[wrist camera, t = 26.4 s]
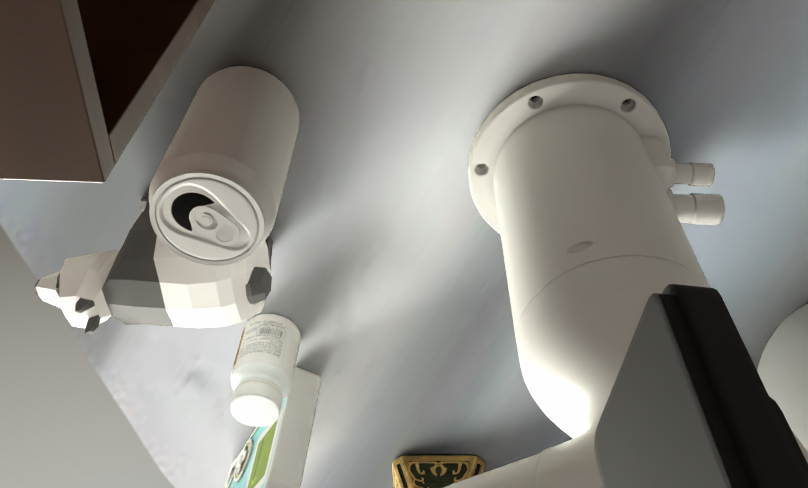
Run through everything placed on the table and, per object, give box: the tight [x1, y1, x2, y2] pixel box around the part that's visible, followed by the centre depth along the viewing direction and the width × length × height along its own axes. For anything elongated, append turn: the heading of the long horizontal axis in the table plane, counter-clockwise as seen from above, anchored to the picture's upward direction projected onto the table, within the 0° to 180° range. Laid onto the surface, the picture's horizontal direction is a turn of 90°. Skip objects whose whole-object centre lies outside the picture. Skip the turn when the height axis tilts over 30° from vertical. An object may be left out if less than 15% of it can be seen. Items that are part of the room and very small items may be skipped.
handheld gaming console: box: [225, 367, 322, 488], centre depth 62 cm, size 11×3×15 cm
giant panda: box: [35, 197, 273, 335], centre depth 49 cm, size 15×6×10 cm, turn 93°
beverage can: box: [149, 66, 300, 266], centre depth 42 cm, size 6×6×12 cm
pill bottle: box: [230, 314, 300, 427], centre depth 55 cm, size 4×4×8 cm
